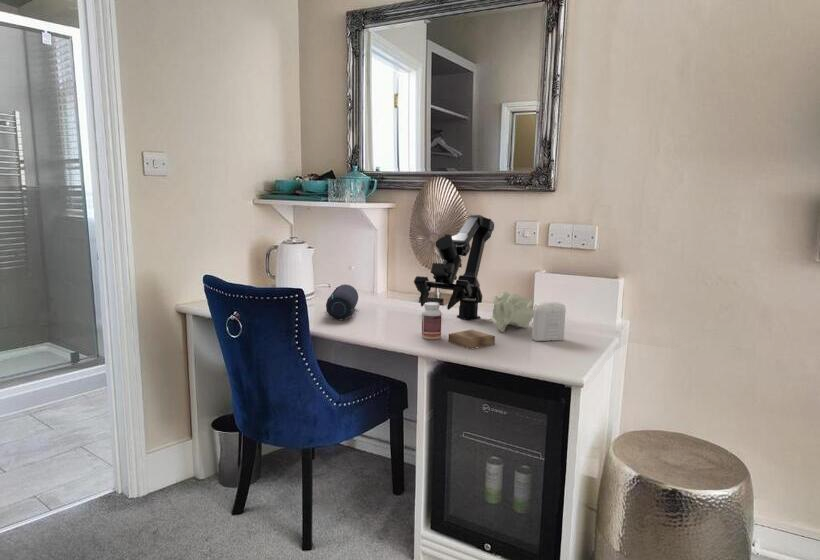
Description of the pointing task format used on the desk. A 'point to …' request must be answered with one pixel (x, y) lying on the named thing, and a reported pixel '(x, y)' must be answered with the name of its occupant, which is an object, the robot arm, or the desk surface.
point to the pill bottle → (431, 321)
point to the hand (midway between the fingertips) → (434, 307)
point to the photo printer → (548, 321)
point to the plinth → (471, 338)
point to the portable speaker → (342, 302)
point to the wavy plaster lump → (511, 311)
